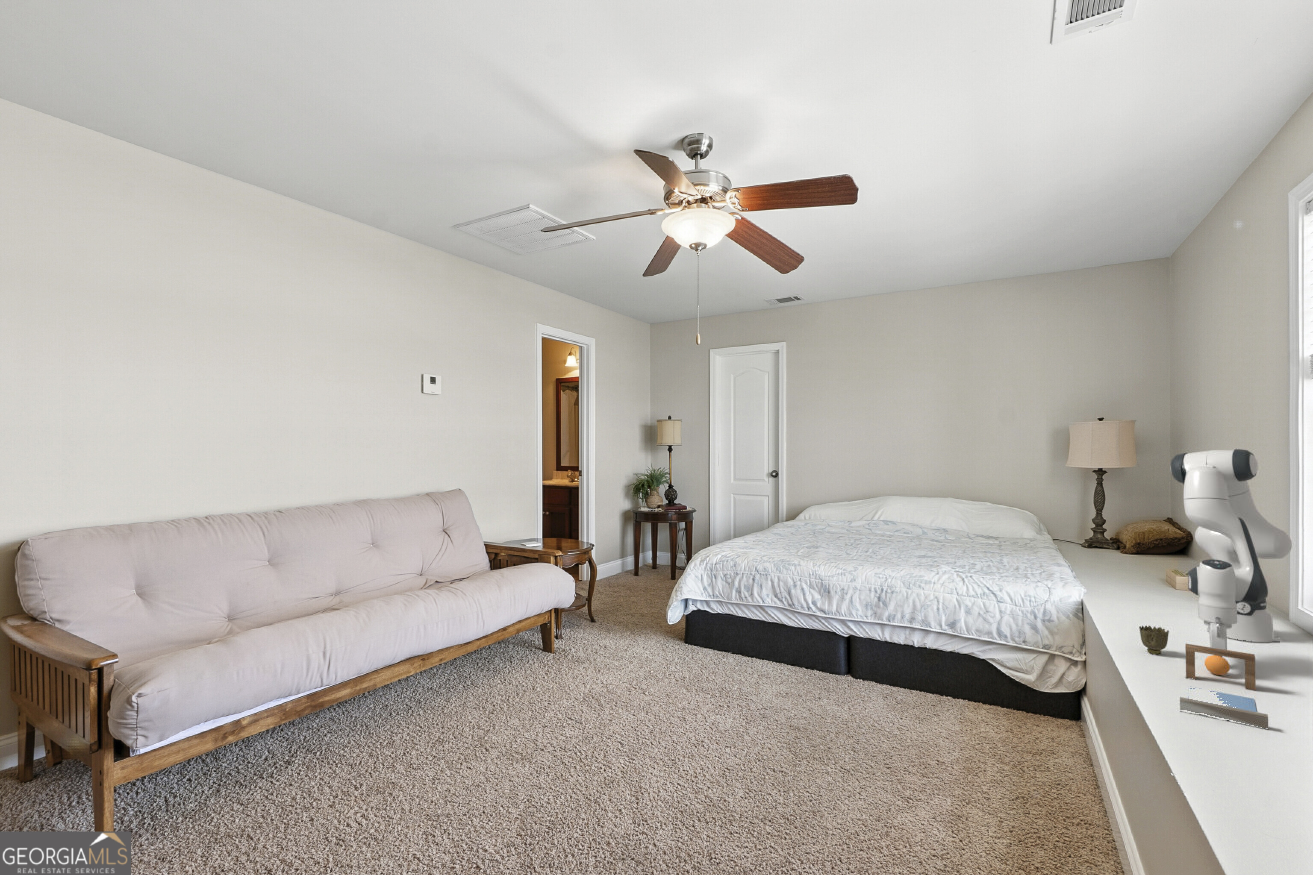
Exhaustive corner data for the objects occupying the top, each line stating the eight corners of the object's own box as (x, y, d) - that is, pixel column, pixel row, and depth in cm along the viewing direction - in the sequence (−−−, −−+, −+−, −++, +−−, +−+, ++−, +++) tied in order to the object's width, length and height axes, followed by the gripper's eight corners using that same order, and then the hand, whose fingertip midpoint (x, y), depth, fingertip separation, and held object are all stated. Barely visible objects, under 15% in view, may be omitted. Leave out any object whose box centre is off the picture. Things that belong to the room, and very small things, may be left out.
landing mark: (1189, 686, 173) (1189, 686, 173) (1253, 699, 164) (1253, 698, 164) (1188, 701, 163) (1188, 701, 163) (1257, 715, 154) (1257, 715, 154)
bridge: (1186, 674, 182) (1185, 643, 182) (1255, 687, 172) (1254, 654, 172) (1186, 677, 179) (1185, 646, 179) (1255, 690, 170) (1255, 657, 170)
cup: (1174, 657, 196) (1174, 632, 196) (1148, 656, 197) (1147, 631, 197) (1160, 650, 203) (1160, 625, 203) (1134, 648, 204) (1134, 624, 205)
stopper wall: (1180, 708, 159) (1180, 696, 159) (1267, 726, 149) (1267, 714, 149) (1180, 711, 158) (1179, 699, 158) (1268, 729, 147) (1268, 716, 147)
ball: (1203, 669, 181) (1204, 673, 185) (1229, 674, 177) (1229, 679, 181) (1204, 650, 183) (1205, 655, 186) (1230, 655, 179) (1230, 660, 182)
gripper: (1232, 624, 179) (1233, 672, 178) (1230, 609, 194) (1231, 653, 194) (1203, 620, 183) (1204, 667, 183) (1203, 606, 198) (1204, 649, 198)
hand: (1218, 660), depth 188 cm, fingers closed
